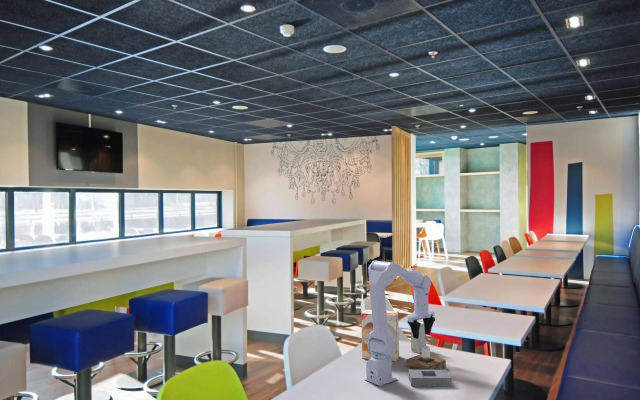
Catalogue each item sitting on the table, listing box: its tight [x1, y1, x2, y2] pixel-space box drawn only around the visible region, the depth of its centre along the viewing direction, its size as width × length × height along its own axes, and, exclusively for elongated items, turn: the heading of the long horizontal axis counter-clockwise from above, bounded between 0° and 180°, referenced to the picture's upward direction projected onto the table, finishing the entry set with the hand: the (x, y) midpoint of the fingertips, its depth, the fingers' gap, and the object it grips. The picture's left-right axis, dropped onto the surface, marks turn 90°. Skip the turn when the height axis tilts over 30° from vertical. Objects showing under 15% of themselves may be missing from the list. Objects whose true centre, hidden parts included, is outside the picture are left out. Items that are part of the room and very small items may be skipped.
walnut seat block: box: [405, 353, 447, 370], centre depth 185 cm, size 11×11×3 cm
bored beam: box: [407, 369, 452, 387], centre depth 171 cm, size 14×8×3 cm, turn 87°
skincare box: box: [410, 320, 427, 354], centre depth 206 cm, size 6×4×12 cm
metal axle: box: [421, 345, 431, 363], centre depth 185 cm, size 3×3×8 cm
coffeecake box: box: [361, 309, 400, 362], centre depth 198 cm, size 15×7×20 cm, turn 73°
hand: (421, 336), depth 192 cm, fingers open, 7 cm apart
